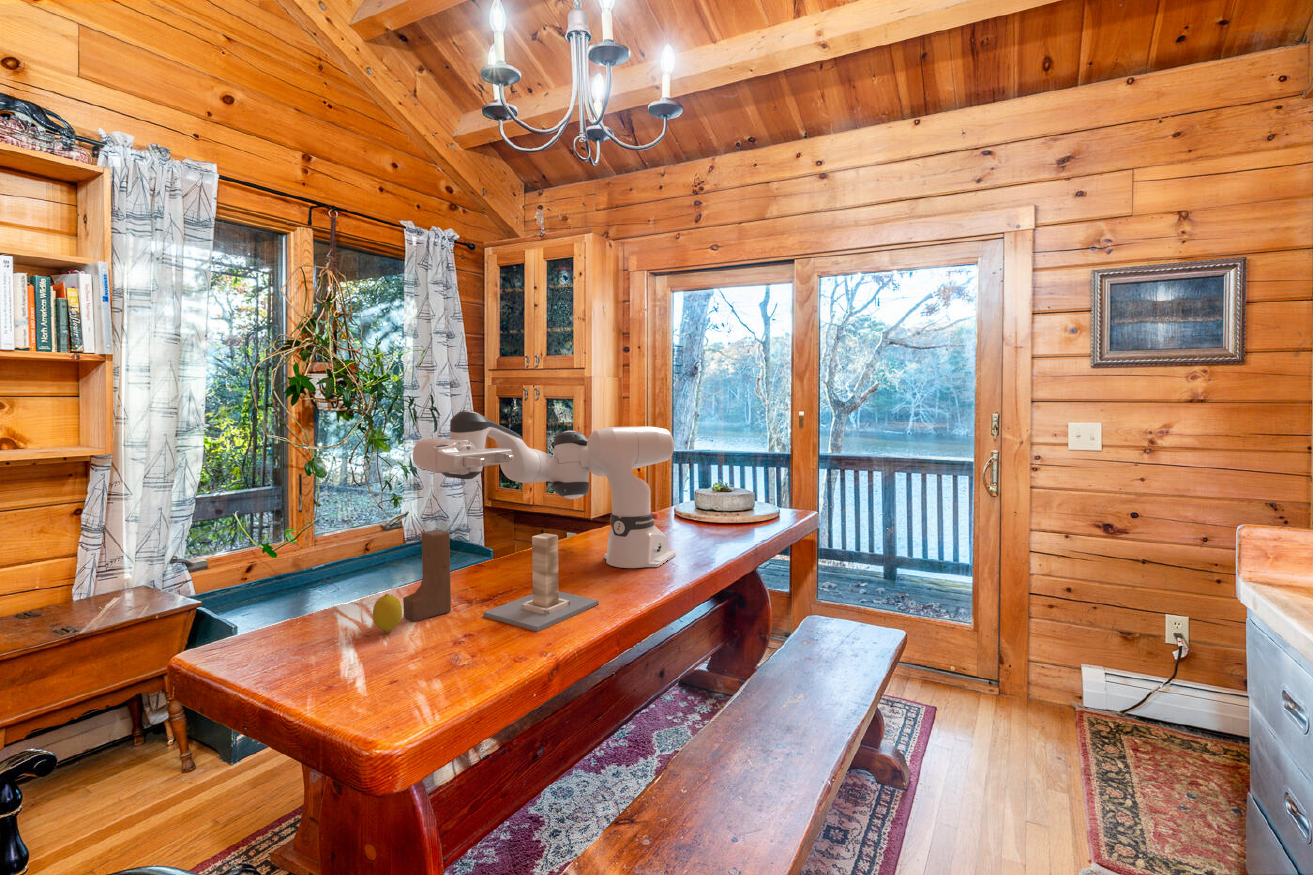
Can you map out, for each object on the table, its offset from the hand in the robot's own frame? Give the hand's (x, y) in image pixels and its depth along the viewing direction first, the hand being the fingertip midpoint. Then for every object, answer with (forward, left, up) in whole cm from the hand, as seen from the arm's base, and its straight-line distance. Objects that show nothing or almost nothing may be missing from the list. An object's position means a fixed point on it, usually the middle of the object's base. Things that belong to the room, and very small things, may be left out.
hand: (497, 460), depth 156 cm
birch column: (+6, +21, -31) cm, 38 cm away
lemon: (+33, +3, -32) cm, 46 cm away
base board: (+6, +20, -32) cm, 38 cm away
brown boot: (+22, +1, -32) cm, 39 cm away
